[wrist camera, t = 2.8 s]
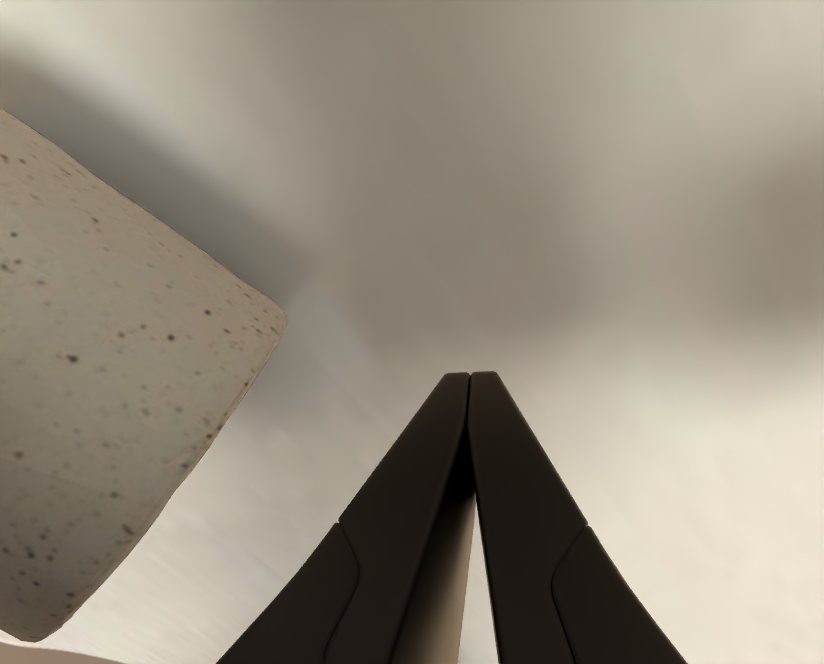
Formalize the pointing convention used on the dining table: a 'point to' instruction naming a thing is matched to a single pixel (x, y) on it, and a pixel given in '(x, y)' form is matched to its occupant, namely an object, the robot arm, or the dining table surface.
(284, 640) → the robot arm
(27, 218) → the ceramic mug
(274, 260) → the dining table surface
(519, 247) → the dining table surface
